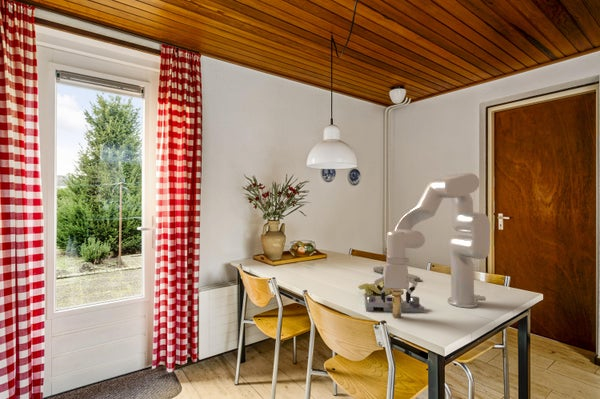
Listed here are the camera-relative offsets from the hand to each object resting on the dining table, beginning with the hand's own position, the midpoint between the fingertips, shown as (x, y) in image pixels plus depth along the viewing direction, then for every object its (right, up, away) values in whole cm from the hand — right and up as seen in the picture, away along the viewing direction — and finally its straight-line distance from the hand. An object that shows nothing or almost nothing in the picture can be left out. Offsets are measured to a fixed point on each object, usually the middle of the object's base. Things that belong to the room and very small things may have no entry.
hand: (395, 301), depth 134 cm
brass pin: (+1, -6, 0) cm, 6 cm away
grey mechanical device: (+2, -6, +10) cm, 12 cm away
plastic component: (-1, -6, +33) cm, 34 cm away
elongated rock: (+20, -6, +67) cm, 70 cm away
